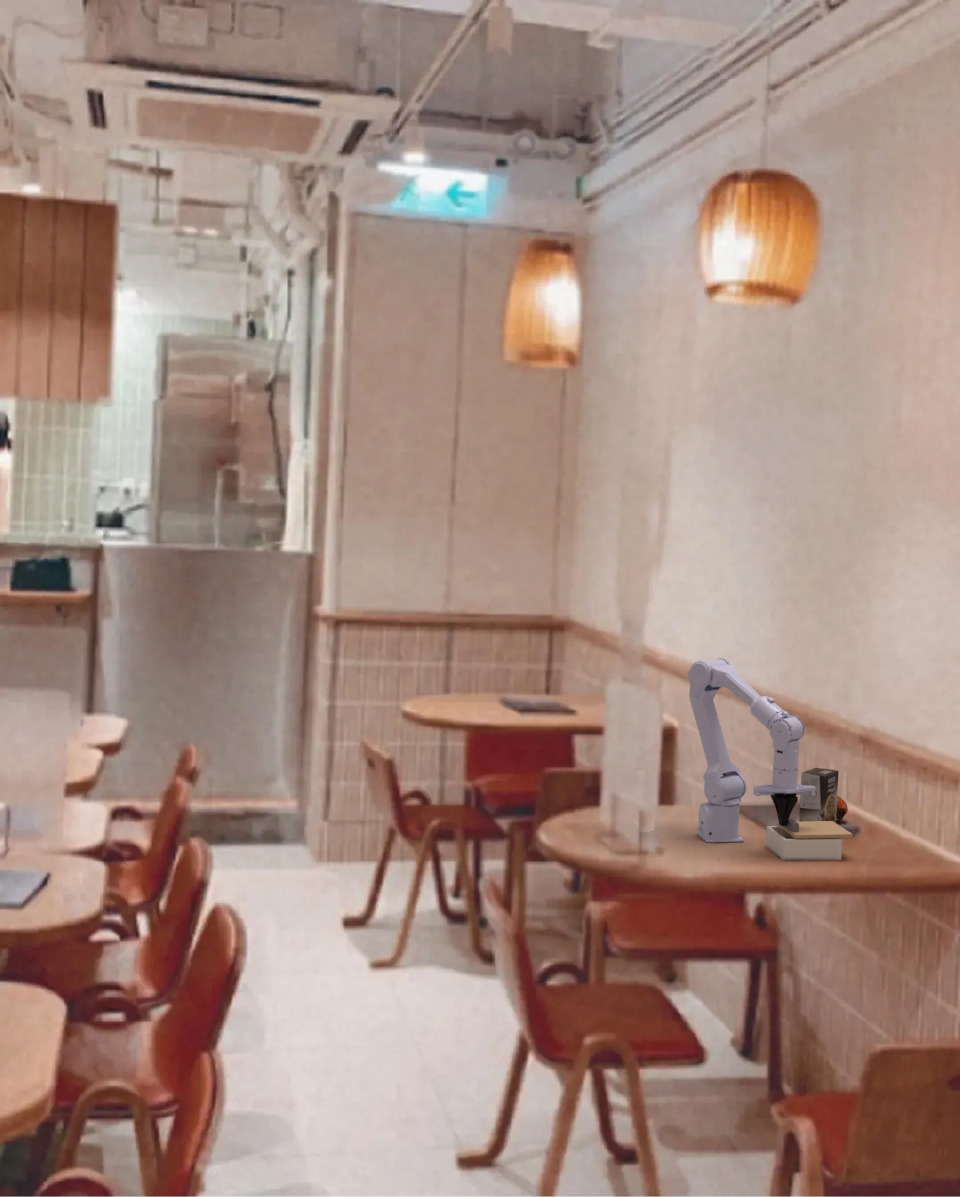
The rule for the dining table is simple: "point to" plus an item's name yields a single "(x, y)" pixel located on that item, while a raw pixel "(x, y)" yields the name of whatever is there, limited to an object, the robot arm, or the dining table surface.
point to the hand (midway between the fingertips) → (782, 824)
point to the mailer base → (802, 846)
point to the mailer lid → (815, 829)
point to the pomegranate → (841, 808)
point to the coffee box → (819, 795)
